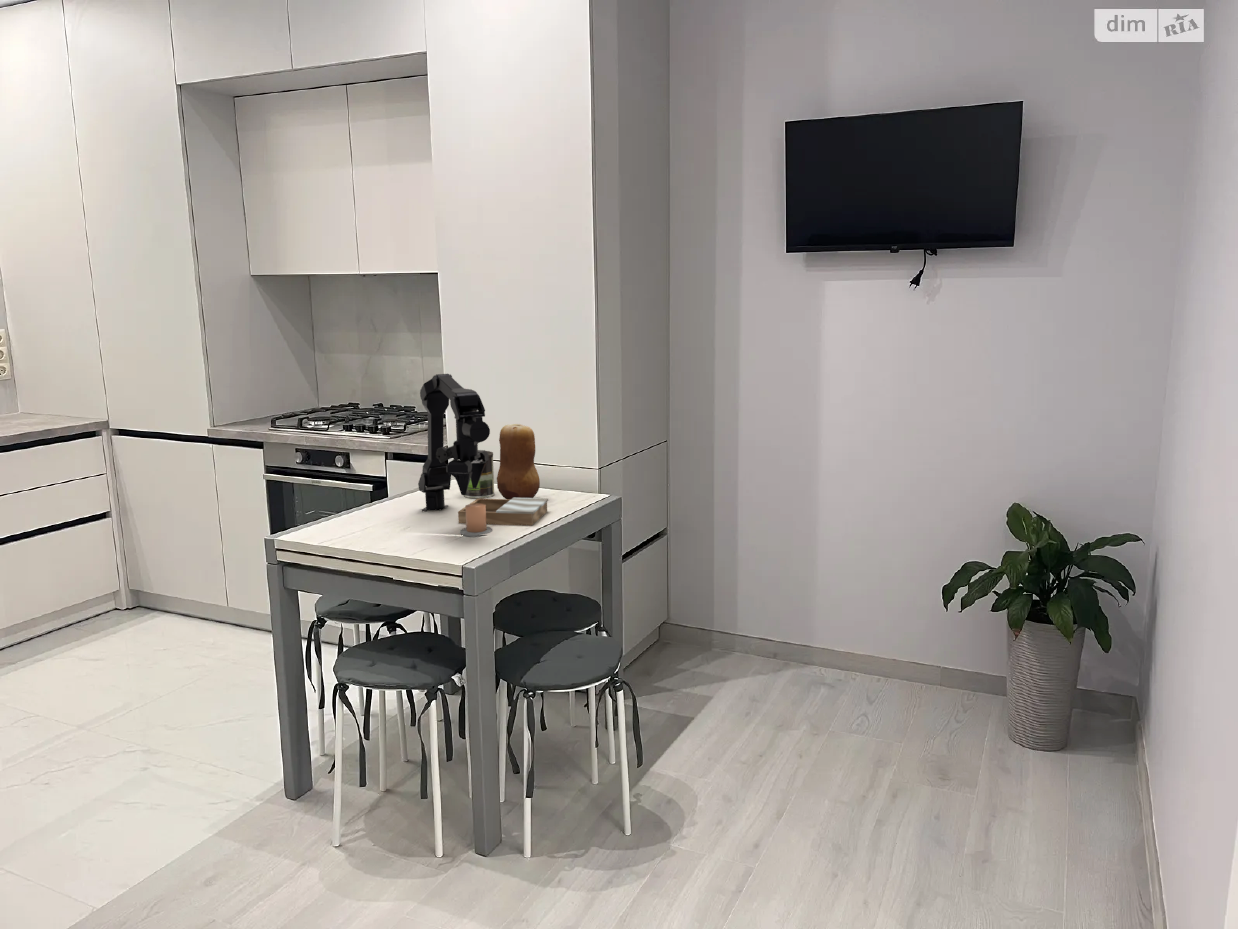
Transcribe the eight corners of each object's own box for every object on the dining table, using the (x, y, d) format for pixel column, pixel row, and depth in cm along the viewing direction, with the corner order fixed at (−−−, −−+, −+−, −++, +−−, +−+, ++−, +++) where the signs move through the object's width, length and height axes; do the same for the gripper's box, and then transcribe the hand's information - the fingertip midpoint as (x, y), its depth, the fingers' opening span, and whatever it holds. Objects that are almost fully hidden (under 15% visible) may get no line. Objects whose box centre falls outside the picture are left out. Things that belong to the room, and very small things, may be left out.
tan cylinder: (470, 527, 269) (469, 503, 268) (489, 527, 268) (488, 503, 267) (463, 532, 264) (462, 507, 263) (482, 532, 263) (481, 508, 262)
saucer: (466, 528, 271) (466, 525, 271) (496, 529, 270) (496, 526, 270) (455, 536, 263) (455, 533, 263) (486, 537, 261) (486, 534, 261)
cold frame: (478, 511, 291) (477, 496, 290) (548, 513, 287) (548, 498, 286) (458, 525, 275) (457, 509, 274) (533, 527, 271) (533, 511, 270)
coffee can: (487, 499, 307) (485, 456, 304) (458, 497, 310) (455, 455, 307) (500, 492, 317) (498, 450, 314) (471, 491, 320) (469, 449, 317)
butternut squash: (546, 498, 307) (543, 421, 303) (532, 507, 295) (529, 428, 290) (506, 496, 311) (502, 420, 306) (490, 505, 298) (487, 427, 293)
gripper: (451, 430, 273) (453, 482, 276) (426, 441, 255) (429, 498, 258) (488, 431, 271) (490, 484, 274) (466, 443, 253) (468, 499, 256)
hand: (469, 491), depth 266 cm, fingers open, 9 cm apart
